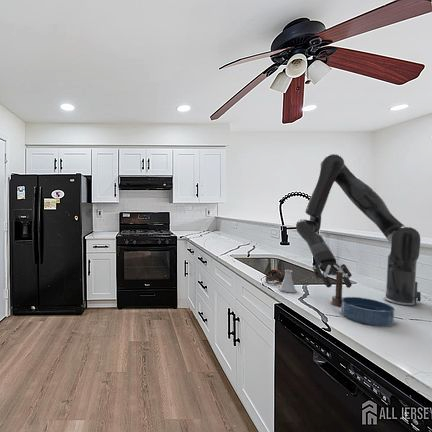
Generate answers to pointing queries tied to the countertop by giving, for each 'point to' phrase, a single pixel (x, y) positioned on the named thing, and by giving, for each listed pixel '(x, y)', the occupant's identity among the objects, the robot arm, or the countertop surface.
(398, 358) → the countertop surface
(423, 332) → the countertop surface
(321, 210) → the robot arm
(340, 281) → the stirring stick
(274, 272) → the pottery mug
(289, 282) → the flask
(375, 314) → the mixing bowl
